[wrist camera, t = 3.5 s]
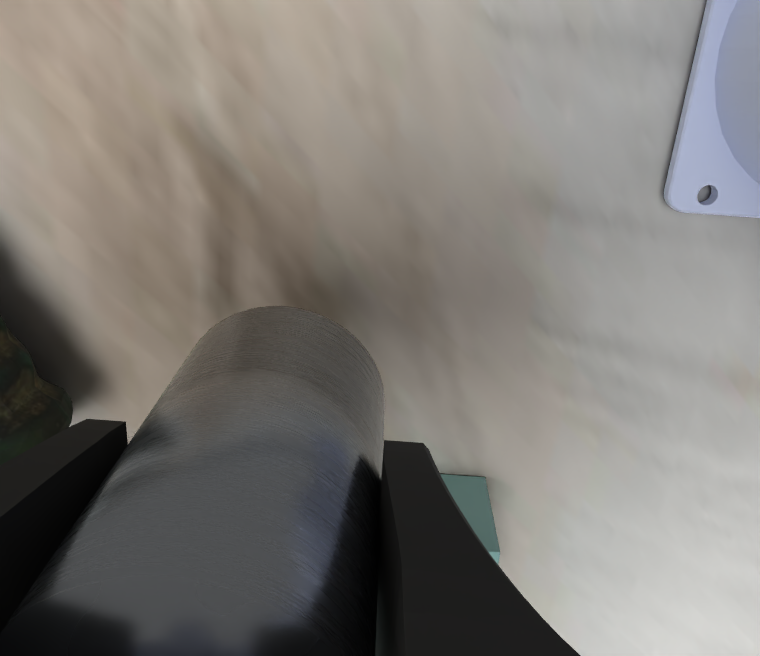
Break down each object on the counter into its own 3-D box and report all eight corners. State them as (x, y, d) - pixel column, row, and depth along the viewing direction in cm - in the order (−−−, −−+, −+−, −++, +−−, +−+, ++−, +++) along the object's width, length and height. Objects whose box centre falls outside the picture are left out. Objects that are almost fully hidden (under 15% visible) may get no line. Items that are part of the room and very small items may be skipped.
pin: (392, 314, 13) (386, 596, 6) (377, 492, 14) (360, 867, 8) (177, 298, 13) (-56, 564, 6) (185, 478, 14) (5, 843, 8)
